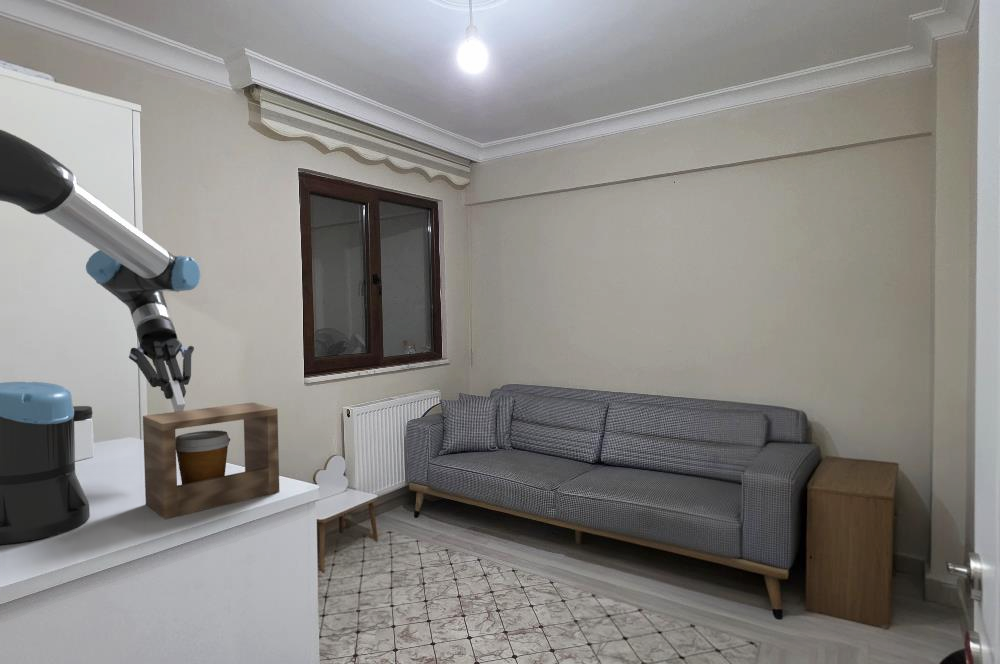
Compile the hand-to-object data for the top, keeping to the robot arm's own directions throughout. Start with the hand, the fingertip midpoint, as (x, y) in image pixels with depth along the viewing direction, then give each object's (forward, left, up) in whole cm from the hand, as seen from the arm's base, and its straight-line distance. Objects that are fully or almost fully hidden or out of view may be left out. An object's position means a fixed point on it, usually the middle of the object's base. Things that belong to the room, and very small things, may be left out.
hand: (180, 408), depth 123 cm
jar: (-12, +37, -15) cm, 42 cm away
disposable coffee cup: (-2, -18, -15) cm, 23 cm away
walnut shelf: (0, -19, -15) cm, 24 cm away
